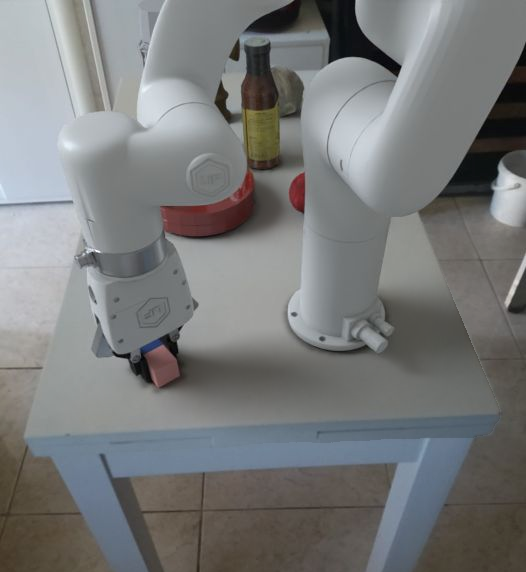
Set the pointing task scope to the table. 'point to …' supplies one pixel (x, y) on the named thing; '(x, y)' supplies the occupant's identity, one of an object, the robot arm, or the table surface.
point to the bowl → (212, 213)
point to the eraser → (160, 362)
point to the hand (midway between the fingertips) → (156, 365)
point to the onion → (298, 193)
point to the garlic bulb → (288, 89)
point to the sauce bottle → (260, 106)
